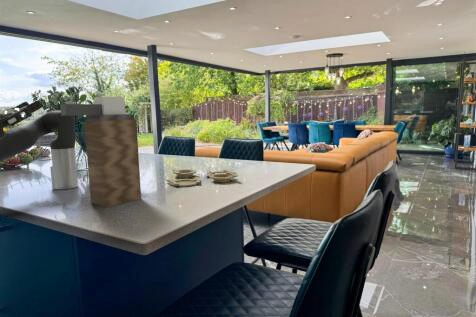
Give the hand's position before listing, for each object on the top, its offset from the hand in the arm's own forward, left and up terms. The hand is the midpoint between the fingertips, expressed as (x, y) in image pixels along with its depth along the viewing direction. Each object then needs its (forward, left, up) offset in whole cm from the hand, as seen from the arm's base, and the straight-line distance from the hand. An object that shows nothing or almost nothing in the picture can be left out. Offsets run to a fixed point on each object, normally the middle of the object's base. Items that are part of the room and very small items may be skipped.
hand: (34, 103), depth 97 cm
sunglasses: (-27, +68, -35) cm, 81 cm away
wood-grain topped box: (+11, +22, -35) cm, 42 cm away
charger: (+8, +16, -4) cm, 19 cm away
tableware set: (+33, +63, -35) cm, 79 cm away
